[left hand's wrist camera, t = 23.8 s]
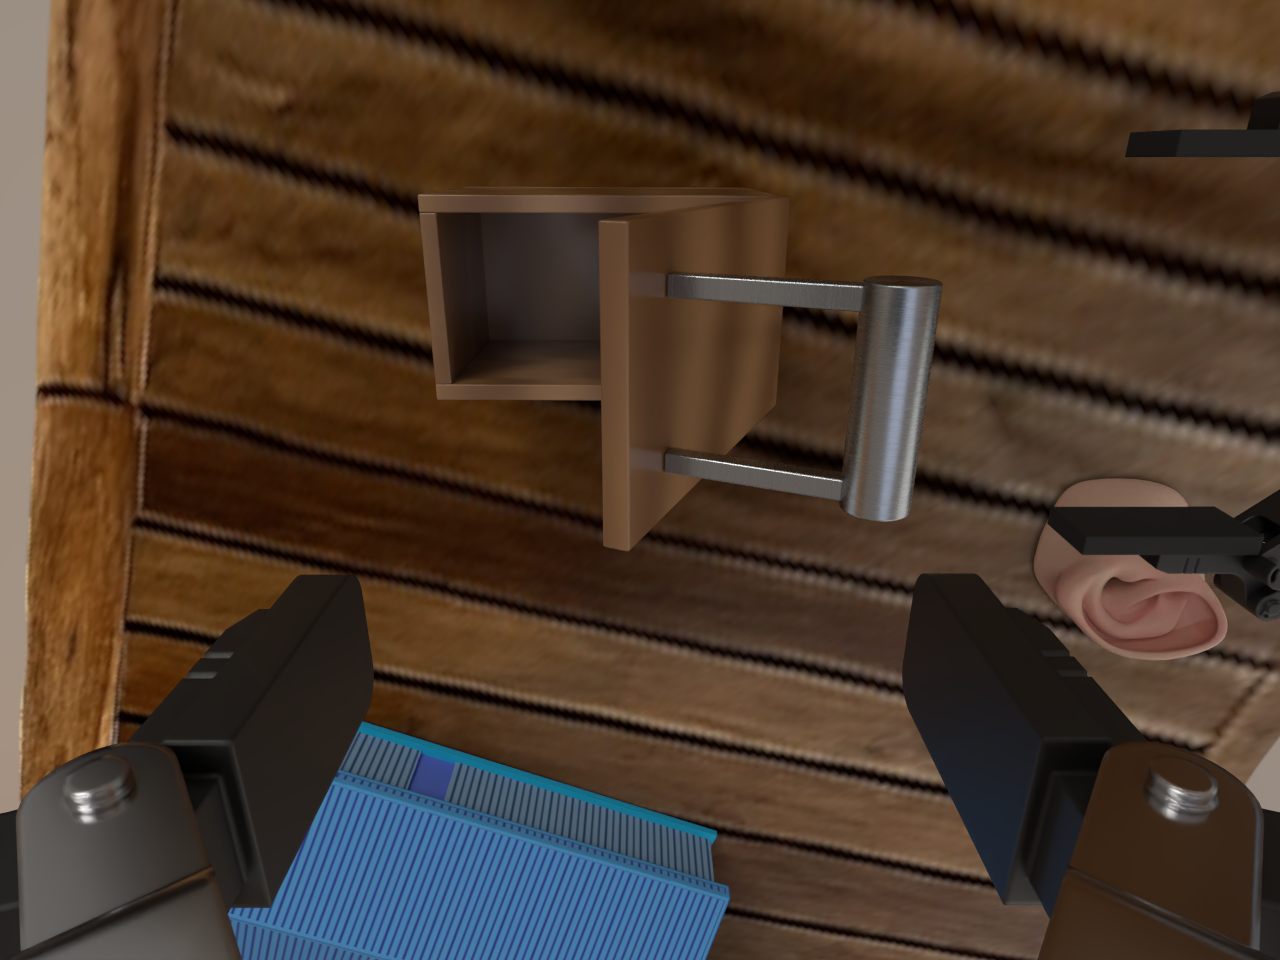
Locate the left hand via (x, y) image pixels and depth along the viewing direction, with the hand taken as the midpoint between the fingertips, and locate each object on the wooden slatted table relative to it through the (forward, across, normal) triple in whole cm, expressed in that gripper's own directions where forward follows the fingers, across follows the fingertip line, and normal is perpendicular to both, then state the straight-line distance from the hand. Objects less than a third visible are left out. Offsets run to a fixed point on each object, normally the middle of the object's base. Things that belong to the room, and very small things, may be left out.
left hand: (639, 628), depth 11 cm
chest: (+39, -2, 0) cm, 39 cm away
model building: (+39, -16, -48) cm, 64 cm away
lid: (+20, +2, 0) cm, 20 cm away
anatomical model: (+39, +33, -19) cm, 55 cm away
